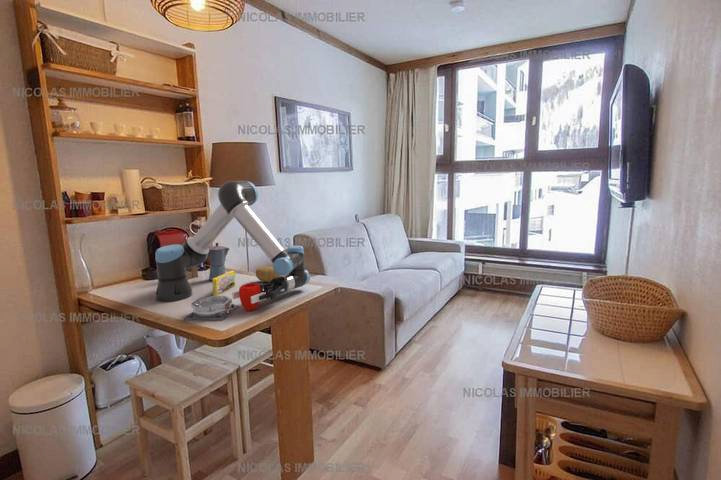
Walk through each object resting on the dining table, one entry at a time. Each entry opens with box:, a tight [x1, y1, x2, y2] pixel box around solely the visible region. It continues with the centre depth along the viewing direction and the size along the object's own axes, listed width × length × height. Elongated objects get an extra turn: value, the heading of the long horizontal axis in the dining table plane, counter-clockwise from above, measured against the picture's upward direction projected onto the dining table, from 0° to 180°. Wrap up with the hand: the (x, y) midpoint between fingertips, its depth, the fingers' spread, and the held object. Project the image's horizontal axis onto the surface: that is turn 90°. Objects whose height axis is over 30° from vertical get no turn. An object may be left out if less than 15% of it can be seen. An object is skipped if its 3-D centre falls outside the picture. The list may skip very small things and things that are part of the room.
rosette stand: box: [183, 295, 240, 322], centre depth 148 cm, size 15×15×5 cm
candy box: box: [211, 270, 236, 296], centre depth 179 cm, size 16×2×8 cm, turn 168°
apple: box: [238, 282, 261, 312], centre depth 152 cm, size 9×9×11 cm
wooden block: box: [186, 266, 199, 280], centre depth 203 cm, size 4×11×18 cm, turn 146°
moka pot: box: [203, 242, 230, 282], centre depth 199 cm, size 10×15×20 cm, turn 102°
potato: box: [255, 266, 281, 284], centre depth 193 cm, size 10×14×8 cm
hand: (242, 298), depth 148 cm, fingers open, 10 cm apart
